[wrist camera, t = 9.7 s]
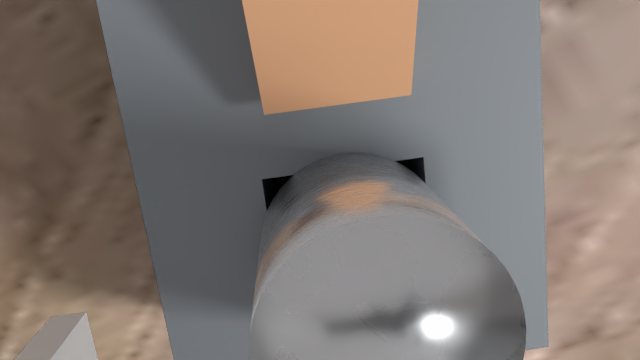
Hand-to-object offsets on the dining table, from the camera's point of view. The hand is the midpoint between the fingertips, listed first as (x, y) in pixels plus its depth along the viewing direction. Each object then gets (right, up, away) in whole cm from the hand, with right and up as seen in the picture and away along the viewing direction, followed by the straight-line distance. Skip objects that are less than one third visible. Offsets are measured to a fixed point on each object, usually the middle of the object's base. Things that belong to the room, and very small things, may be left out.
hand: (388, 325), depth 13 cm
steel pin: (-1, +3, +10) cm, 10 cm away
